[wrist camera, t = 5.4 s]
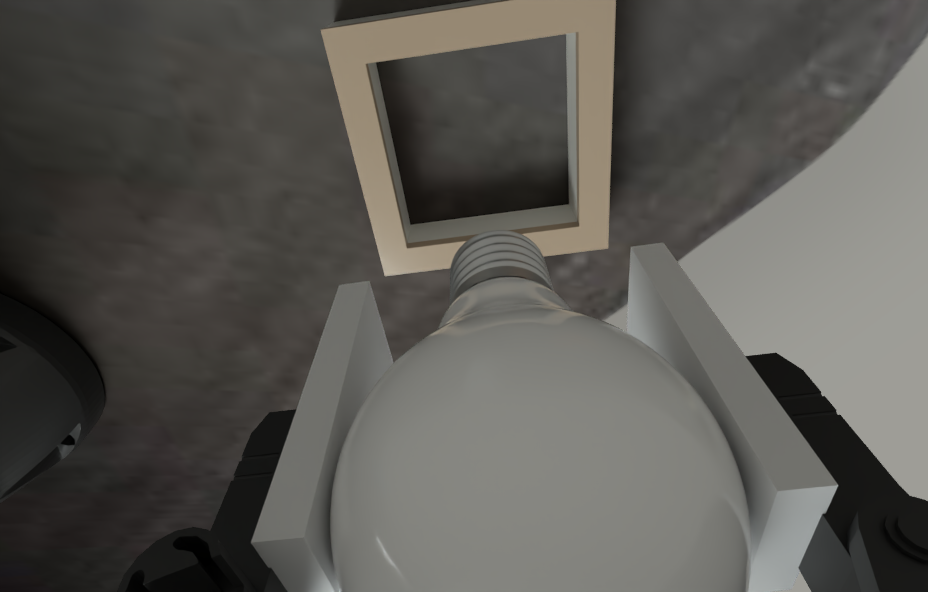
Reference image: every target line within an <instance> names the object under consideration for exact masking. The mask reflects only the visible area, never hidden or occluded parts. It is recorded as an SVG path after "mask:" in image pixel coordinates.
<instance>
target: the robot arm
mask: <svg viewBox="0 0 928 592" xmlns="http://www.w3.org/2000/svg"><path fill="white" fill-rule="evenodd" d="M627 333H629V334H630V335H632V336H634V337H636V338H637V339H639V340H640V341H642V342H643V343H645V344H646V345H648V346H649V347H651V348H652V349H653V350H655V351H656V352H657V353H659V354H660V355H661V356H662V357H664V358H665V359H666V360H667V361H668V362H669V363H670V364H672V365H673V366H674V367H675V368H676V369H677V370H678V371H679V372H680V373H681V374H682V375H683V376H684V377H685V378H686V379H687V381H688V382H689V383H690V384H691V385H692V386H693V388H694V389H695V390H696V391H697V392H698V394H699V395H700V396H701V398H702V399H703V400H704V402H705V403H706V405H707V406H708V408H709V409H710V410H711V412H712V414H713V415H714V417H715V419H716V420H717V422H718V424H719V425H720V427H721V429H722V431H723V433H724V435H725V437H726V439H727V441H728V443H729V445H730V448H731V450H732V452H733V455H734V458H735V460H736V463H737V465H738V468H739V471H740V475H741V478H742V481H743V485H744V489H745V493H746V498H747V503H748V508H749V514H750V522H751V534H752V565H751V576H750V583H749V589H748V592H769V591H782V590H791V589H792V587H793V585H794V583H795V580H796V578H797V576H798V574H799V572H801V574H802V575H803V577H804V579H805V581H806V583H807V584H808V586H809V588H810V590H811V591H812V592H928V501H926V500H923V499H920V498H916V497H912V496H909V495H908V494H907V493H906V492H905V491H904V490H903V489H902V488H901V487H900V486H899V485H898V483H897V482H896V481H895V480H894V479H893V477H892V476H891V475H890V474H889V473H888V472H887V470H886V469H885V468H884V467H883V466H882V464H881V463H880V462H879V461H878V459H877V458H876V457H875V456H874V455H873V453H872V452H871V451H870V450H869V449H868V447H867V446H866V445H865V444H864V443H863V441H862V440H861V439H860V438H859V437H858V435H857V434H856V433H855V432H854V431H853V430H852V428H851V427H850V426H849V425H848V423H847V422H846V421H845V420H844V419H843V417H842V416H841V415H837V413H836V409H835V408H834V407H833V406H832V404H831V403H830V402H829V401H828V400H827V398H826V397H825V396H822V395H821V391H820V390H819V389H818V388H817V386H816V385H815V384H814V383H813V382H812V380H811V379H810V378H809V377H808V376H807V375H806V373H805V372H804V371H803V370H802V369H800V368H799V367H797V366H796V365H794V364H793V363H791V362H790V361H788V360H787V359H785V358H783V357H782V356H780V355H779V354H777V353H770V354H762V355H752V356H745V355H744V354H743V352H742V351H741V350H740V348H739V347H738V345H737V344H736V343H735V341H734V340H733V339H732V337H731V336H730V334H729V333H728V332H727V330H726V329H725V328H724V326H723V325H722V323H721V322H720V321H719V319H718V318H717V316H716V315H715V314H714V312H713V311H712V309H711V308H710V307H709V305H708V304H707V303H706V301H705V300H704V298H703V297H702V296H701V294H700V293H699V292H698V290H697V289H696V287H695V286H694V285H693V283H692V282H691V280H690V279H689V278H688V276H687V275H686V274H685V272H684V271H683V269H682V268H681V267H680V265H679V264H678V262H677V261H676V260H675V258H674V257H673V255H672V254H671V253H670V251H669V250H668V248H667V247H666V246H665V244H664V243H657V244H649V245H642V246H634V247H631V254H630V274H629V293H628V315H627ZM392 364H393V360H392V356H391V353H390V350H389V346H388V343H387V339H386V336H385V333H384V329H383V326H382V322H381V319H380V316H379V312H378V309H377V305H376V302H375V299H374V295H373V292H372V288H371V285H370V282H369V281H366V282H358V283H351V284H343V285H339V287H338V290H337V293H336V296H335V299H334V302H333V305H332V308H331V311H330V313H329V316H328V319H327V322H326V325H325V328H324V331H323V334H322V337H321V340H320V343H319V346H318V348H317V351H316V354H315V357H314V360H313V363H312V366H311V369H310V372H309V375H308V378H307V380H306V383H305V386H304V389H303V392H302V395H301V398H300V401H299V404H298V407H297V409H296V410H287V411H278V412H270V413H269V414H268V415H267V416H266V417H265V418H264V419H263V421H262V422H261V423H260V424H259V425H258V426H257V428H256V429H255V430H254V431H253V432H252V433H251V436H250V438H249V440H248V443H247V445H246V447H245V450H244V452H243V455H242V461H240V462H239V464H238V466H237V469H236V471H235V474H234V480H233V481H231V483H230V486H229V488H228V490H227V493H226V495H225V497H224V500H223V502H222V505H221V507H220V509H219V512H218V514H217V516H216V519H215V521H214V524H213V526H212V528H211V531H209V530H206V529H201V528H196V527H192V528H187V529H182V530H178V531H175V532H173V533H171V534H169V535H167V536H165V537H163V538H161V539H159V540H157V541H156V542H155V543H153V544H152V545H151V546H150V547H149V548H148V549H146V550H145V551H144V552H143V553H142V554H140V555H139V556H138V557H137V559H136V560H135V561H134V563H133V564H132V565H131V567H130V568H129V569H128V570H127V572H126V573H125V574H124V576H123V579H122V581H121V583H120V586H119V588H118V591H117V592H340V591H339V588H338V584H337V580H336V575H335V571H334V565H333V559H332V551H331V541H330V506H331V495H332V488H333V481H334V476H335V471H336V467H337V463H338V459H339V456H340V453H341V449H342V446H343V443H344V441H345V438H346V436H347V433H348V430H349V428H350V426H351V424H352V422H353V420H354V418H355V416H356V414H357V412H358V410H359V408H360V406H361V405H362V403H363V401H364V400H365V398H366V397H367V395H368V394H369V392H370V391H371V389H372V388H373V387H374V385H375V384H376V383H377V381H378V380H379V379H380V378H381V377H382V375H383V374H384V373H385V372H386V371H387V370H388V369H389V367H390V366H391V365H392ZM104 402H105V395H104V388H103V384H102V381H101V379H100V376H99V374H98V372H97V370H96V368H95V366H94V365H93V363H92V362H91V360H90V359H89V357H88V356H87V355H86V354H85V352H84V351H83V350H82V349H81V348H80V347H79V345H78V344H77V343H76V342H75V341H74V340H73V339H72V338H70V337H69V336H68V335H67V334H66V333H65V332H64V331H62V330H61V329H60V328H59V327H58V326H56V325H55V324H53V323H52V322H51V321H49V320H48V319H46V318H45V317H43V316H42V315H40V314H39V313H37V312H36V311H34V310H32V309H30V308H29V307H27V306H25V305H23V304H21V303H19V302H17V301H15V300H13V299H11V298H9V297H7V296H4V295H2V294H0V503H1V502H2V501H4V500H5V499H7V498H8V497H9V496H11V495H12V494H14V493H15V492H16V491H18V490H19V489H21V488H22V487H23V486H25V485H26V484H28V483H29V482H30V481H32V480H33V479H35V478H36V477H38V476H39V475H40V474H42V473H43V472H45V471H46V470H47V469H49V468H50V467H52V466H53V465H54V464H56V463H57V462H59V461H60V460H61V459H63V458H64V457H66V456H67V455H68V454H70V453H71V452H72V451H73V450H74V449H76V448H77V447H78V446H79V444H80V443H81V442H82V441H83V440H84V438H85V437H86V436H87V434H88V433H89V432H90V430H91V429H92V428H93V426H94V425H95V424H96V423H97V421H98V420H99V418H100V416H101V414H102V412H103V408H104Z"/></svg>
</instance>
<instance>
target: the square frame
mask: <svg viewBox="0 0 928 592" xmlns="http://www.w3.org/2000/svg"><path fill="white" fill-rule="evenodd" d="M615 13H616V0H473V1H466V2H460V3H453V4H447V5H441V6H434V7H428V8H421V9H415V10H408V11H402V12H395V13H389V14H383V15H376V16H370V17H363V18H357V19H350V20H344V21H337V22H333V23H331V24H330V25H328V26H326V27H325V28H323V29H321V33H322V37H323V41H324V44H325V48H326V52H327V56H328V60H329V64H330V67H331V71H332V75H333V79H334V83H335V87H336V90H337V94H338V98H339V102H340V106H341V110H342V113H343V117H344V121H345V125H346V129H347V132H348V136H349V140H350V144H351V148H352V152H353V155H354V159H355V163H356V167H357V171H358V175H359V178H360V182H361V186H362V190H363V194H364V198H365V201H366V205H367V209H368V213H369V217H370V221H371V224H372V228H373V232H374V236H375V240H376V244H377V247H378V251H379V255H380V259H381V263H382V267H383V270H384V274H385V276H391V275H399V274H407V273H415V272H423V271H431V270H439V269H447V268H451V263H452V260H453V258H454V256H455V254H456V252H457V251H458V250H459V248H460V247H461V246H462V245H463V244H464V243H465V242H466V241H468V240H469V239H471V238H472V237H474V236H476V235H478V234H481V233H484V232H487V231H492V230H508V231H513V232H517V233H519V234H522V235H524V236H526V237H527V238H529V239H530V240H531V241H533V242H534V243H535V244H536V245H537V247H538V248H539V249H540V251H541V253H542V255H543V256H551V255H559V254H567V253H575V252H583V251H591V250H599V249H607V248H608V234H609V203H610V171H611V140H612V108H613V77H614V45H615ZM562 34H566V58H567V117H568V175H569V204H567V205H559V206H551V207H544V208H536V209H528V210H520V211H513V212H505V213H497V214H490V215H482V216H474V217H467V218H459V219H451V220H444V221H436V222H428V223H421V224H413V225H410V220H409V215H408V211H407V206H406V201H405V197H404V192H403V187H402V183H401V178H400V173H399V168H398V164H397V159H396V154H395V150H394V145H393V140H392V136H391V131H390V126H389V122H388V117H387V112H386V107H385V103H384V98H383V93H382V89H381V84H380V79H379V75H378V70H377V65H376V62H381V61H388V60H395V59H401V58H408V57H415V56H421V55H428V54H435V53H441V52H448V51H455V50H461V49H468V48H475V47H481V46H488V45H495V44H501V43H508V42H515V41H521V40H528V39H535V38H541V37H548V36H555V35H562Z"/></svg>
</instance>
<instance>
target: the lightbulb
mask: <svg viewBox="0 0 928 592" xmlns="http://www.w3.org/2000/svg"><path fill="white" fill-rule="evenodd" d="M330 541H331V551H332V559H333V565H334V571H335V575H336V580H337V584H338V588H339V591H340V592H748V589H749V583H750V576H751V565H752V534H751V522H750V514H749V508H748V503H747V498H746V493H745V489H744V485H743V481H742V478H741V475H740V471H739V468H738V465H737V463H736V460H735V458H734V455H733V452H732V450H731V448H730V445H729V443H728V441H727V439H726V437H725V435H724V433H723V431H722V429H721V427H720V425H719V424H718V422H717V420H716V419H715V417H714V415H713V414H712V412H711V410H710V409H709V408H708V406H707V405H706V403H705V402H704V400H703V399H702V398H701V396H700V395H699V394H698V392H697V391H696V390H695V389H694V388H693V386H692V385H691V384H690V383H689V382H688V381H687V379H686V378H685V377H684V376H683V375H682V374H681V373H680V372H679V371H678V370H677V369H676V368H675V367H674V366H673V365H672V364H670V363H669V362H668V361H667V360H666V359H665V358H664V357H662V356H661V355H660V354H659V353H657V352H656V351H655V350H653V349H652V348H651V347H649V346H648V345H646V344H645V343H643V342H642V341H640V340H639V339H637V338H636V337H634V336H632V335H630V334H629V333H627V332H625V331H623V330H621V329H619V328H617V327H615V326H613V325H611V324H609V323H606V322H604V321H602V320H599V319H597V318H594V317H591V316H588V315H585V314H582V313H578V312H575V311H572V310H571V308H570V307H569V306H568V305H567V303H566V302H565V301H564V300H563V299H562V298H561V297H560V296H559V295H557V294H556V293H555V292H554V291H553V287H552V285H551V280H550V277H549V274H548V270H547V268H546V263H545V260H544V258H543V255H542V253H541V251H540V249H539V248H538V247H537V245H536V244H535V243H534V242H533V241H531V240H530V239H529V238H527V237H526V236H524V235H522V234H519V233H517V232H513V231H508V230H492V231H487V232H484V233H481V234H478V235H476V236H474V237H472V238H471V239H469V240H468V241H466V242H465V243H464V244H463V245H462V246H461V247H460V248H459V250H458V251H457V252H456V254H455V256H454V258H453V260H452V263H451V268H450V307H449V308H448V310H447V311H446V313H445V314H444V316H443V318H442V320H441V322H440V325H439V327H438V329H437V330H435V331H434V332H432V333H431V334H429V335H427V336H426V337H425V338H423V339H422V340H420V341H419V342H418V343H416V344H415V345H414V346H412V347H411V348H410V349H409V350H407V351H406V352H405V353H404V354H403V355H402V356H401V357H399V358H398V359H397V360H396V361H395V362H394V363H393V364H392V365H391V366H390V367H389V369H388V370H387V371H386V372H385V373H384V374H383V375H382V377H381V378H380V379H379V380H378V381H377V383H376V384H375V385H374V387H373V388H372V389H371V391H370V392H369V394H368V395H367V397H366V398H365V400H364V401H363V403H362V405H361V406H360V408H359V410H358V412H357V414H356V416H355V418H354V420H353V422H352V424H351V426H350V428H349V430H348V433H347V436H346V438H345V441H344V443H343V446H342V449H341V453H340V456H339V459H338V463H337V467H336V471H335V476H334V481H333V488H332V495H331V506H330Z"/></svg>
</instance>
